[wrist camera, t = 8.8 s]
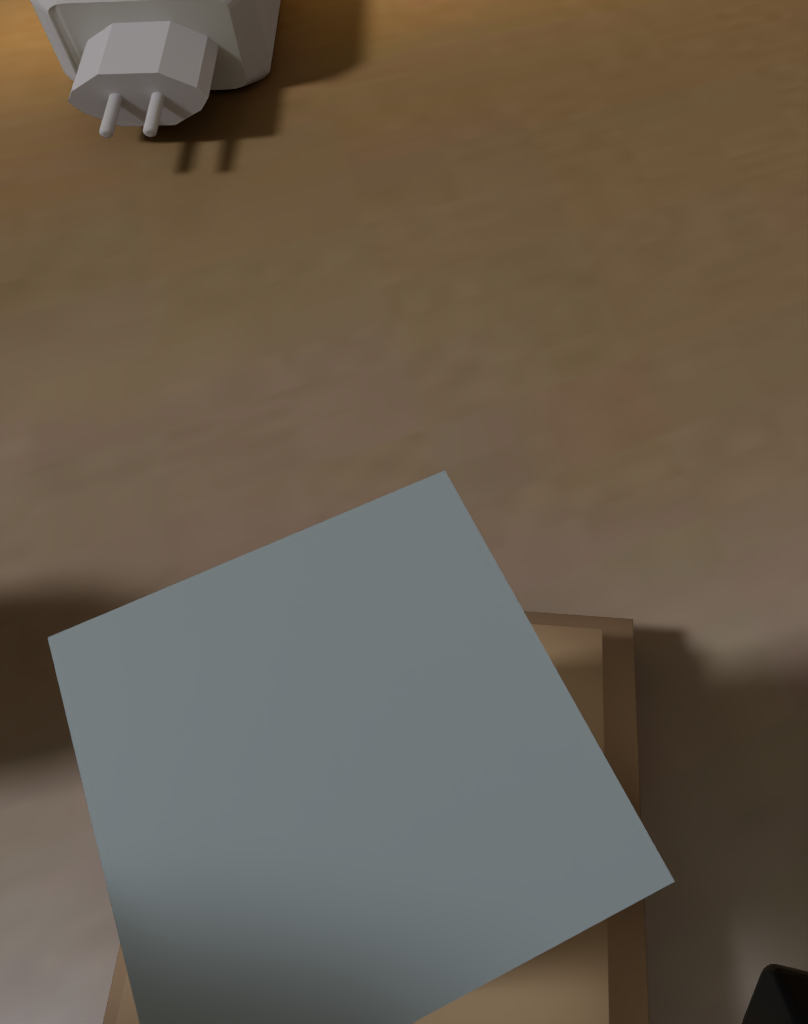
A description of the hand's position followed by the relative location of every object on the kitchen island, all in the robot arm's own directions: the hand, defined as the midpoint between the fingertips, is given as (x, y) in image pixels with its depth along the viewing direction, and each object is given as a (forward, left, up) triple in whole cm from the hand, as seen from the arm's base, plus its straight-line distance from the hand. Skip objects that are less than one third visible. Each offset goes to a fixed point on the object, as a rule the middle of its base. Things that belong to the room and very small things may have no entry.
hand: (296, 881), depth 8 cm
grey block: (+1, 0, -10) cm, 10 cm away
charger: (+32, +13, -13) cm, 37 cm away
